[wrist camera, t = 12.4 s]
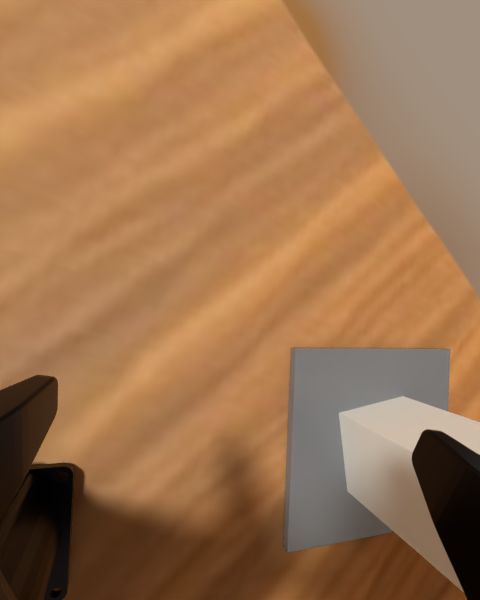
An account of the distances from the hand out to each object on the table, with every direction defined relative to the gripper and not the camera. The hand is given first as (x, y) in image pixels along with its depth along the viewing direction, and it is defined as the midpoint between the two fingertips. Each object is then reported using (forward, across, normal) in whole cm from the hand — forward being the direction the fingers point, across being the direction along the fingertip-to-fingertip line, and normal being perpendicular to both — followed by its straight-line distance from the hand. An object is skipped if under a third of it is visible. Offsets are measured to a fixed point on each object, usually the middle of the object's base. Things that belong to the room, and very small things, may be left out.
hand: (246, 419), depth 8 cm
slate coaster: (+11, -11, +9) cm, 18 cm away
